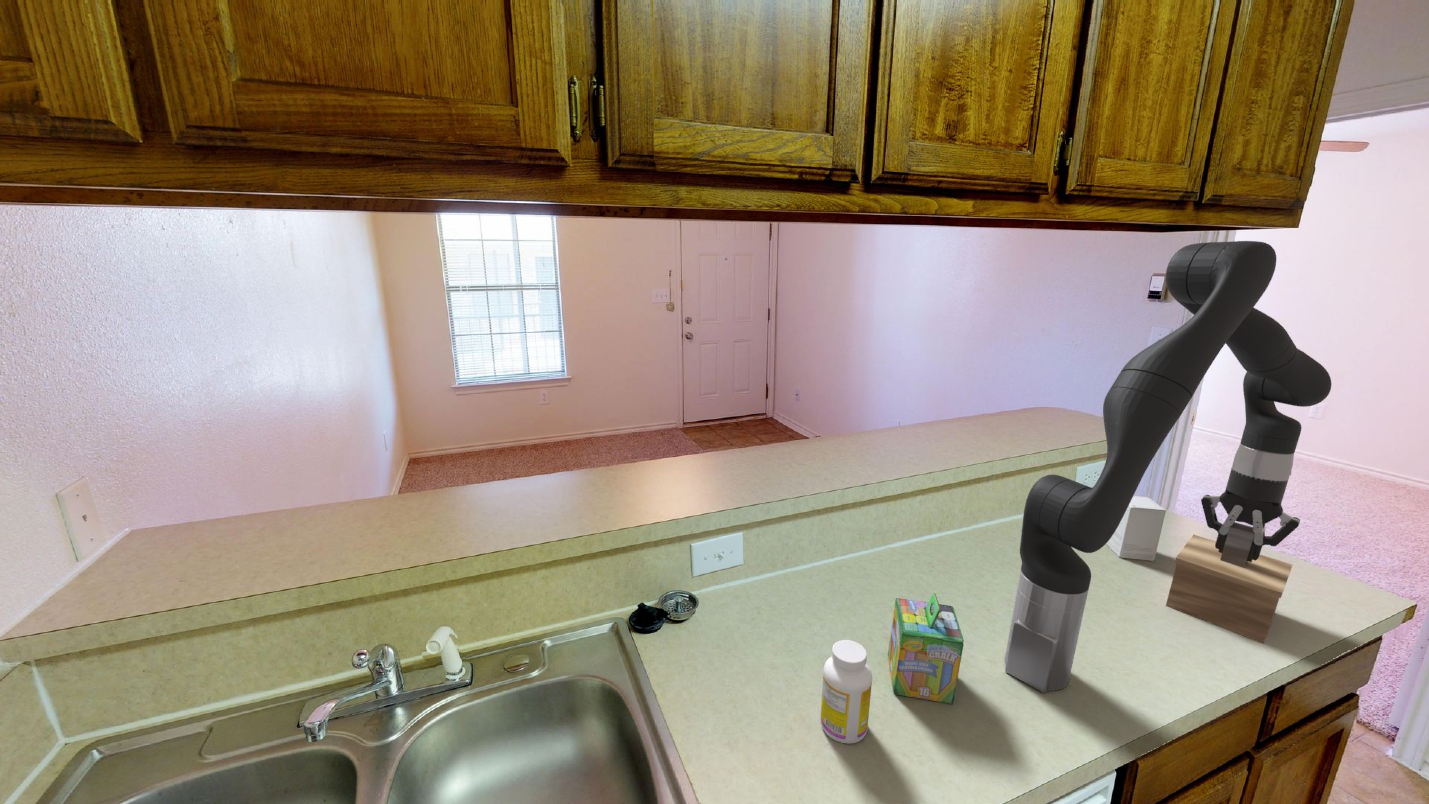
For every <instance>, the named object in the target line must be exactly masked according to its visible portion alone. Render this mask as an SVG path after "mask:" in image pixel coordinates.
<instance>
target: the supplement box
mask: <svg viewBox="0 0 1429 804" xmlns="http://www.w3.org/2000/svg"><path fill="white" fill-rule="evenodd" d="M1166 512H1167V509H1165V508H1164V507H1162V506H1161V505H1159V504H1158V503H1157V502H1156V501H1154V500H1153V499H1151V498H1150V497H1149V496H1140V495H1139V496H1138V495H1137V496H1136V495H1134V496H1133V498H1132V500H1131V502H1130V504H1129V506H1128V508H1127V510H1126V512H1125V514H1124V516H1123V518H1122V520H1121V522H1120V524H1119V526H1118V528H1117V529H1116V531H1115V533H1114V534H1113V535H1112V537H1111V538H1110V540H1109V541H1108V542H1107V543H1106V544H1105V545H1107V547H1109V549H1110V550H1111V551H1112V552H1114V553H1115V555H1116V556H1117V557H1118V558H1122V559H1131V560H1138V561H1139V560H1141V561H1147V562H1148V561H1149V562H1154V561H1155V558H1156V554H1157V550H1158V546H1159V542H1160V539H1161V538H1160V537H1161V534H1162V530H1163V525H1164V522H1165V516H1166Z"/></svg>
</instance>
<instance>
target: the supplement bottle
mask: <svg viewBox="0 0 1429 804" xmlns="http://www.w3.org/2000/svg"><path fill="white" fill-rule="evenodd" d="M867 656H868V653H867V650H866V648H864V646H863V645H862V644H860V643H858V642H856V641H854V640H850V639H841V640H838V641H836V642H835V643H833V645H832V649H831V656H830V657H829V658H828V659H826V661H825V663H824V665H823V673H822V689H821V703H820V705H821V706H820V724H821V728H822V729H823V730H824V732H825V733H826V735H827V736H828V737H830V738H831V739H833V740H834V741H836V742H838V743H841V744H855V743H859V742H860V741H862V740H863V739H864V738H865V736H866V735H867V734H868V733H867V731H868V726H869V719H870V718H869V716H870V707H871V706H870V705H871V696H872V695H871V693H872V685H873V674H872V670H871V668H870V666H869V664H867V658H868V657H867Z"/></svg>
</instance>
